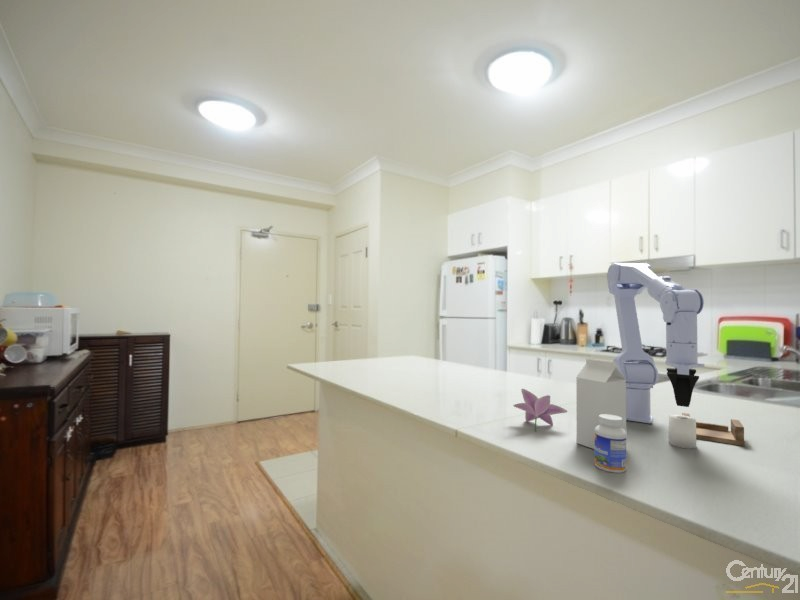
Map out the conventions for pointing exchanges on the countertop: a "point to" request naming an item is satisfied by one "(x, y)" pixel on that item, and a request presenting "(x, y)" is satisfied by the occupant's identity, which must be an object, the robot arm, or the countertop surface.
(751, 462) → the countertop surface
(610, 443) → the pill bottle
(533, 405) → the lily
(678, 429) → the paper roll
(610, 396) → the milk carton
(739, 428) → the holder
